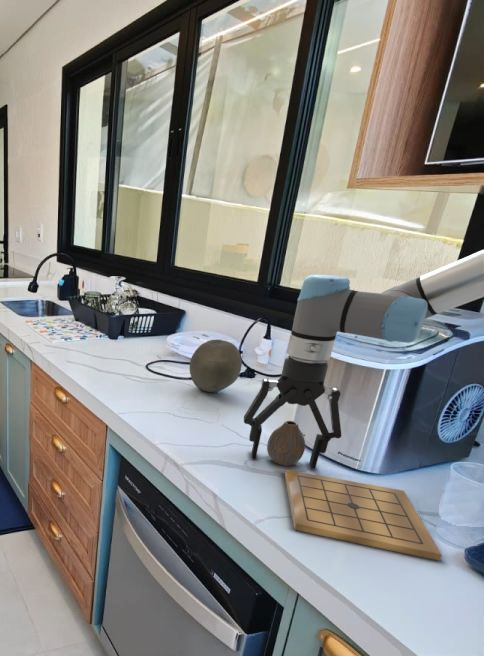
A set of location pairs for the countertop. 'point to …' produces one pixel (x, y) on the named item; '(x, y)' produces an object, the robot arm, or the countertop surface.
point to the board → (358, 514)
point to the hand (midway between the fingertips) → (282, 460)
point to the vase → (286, 444)
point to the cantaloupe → (215, 365)
